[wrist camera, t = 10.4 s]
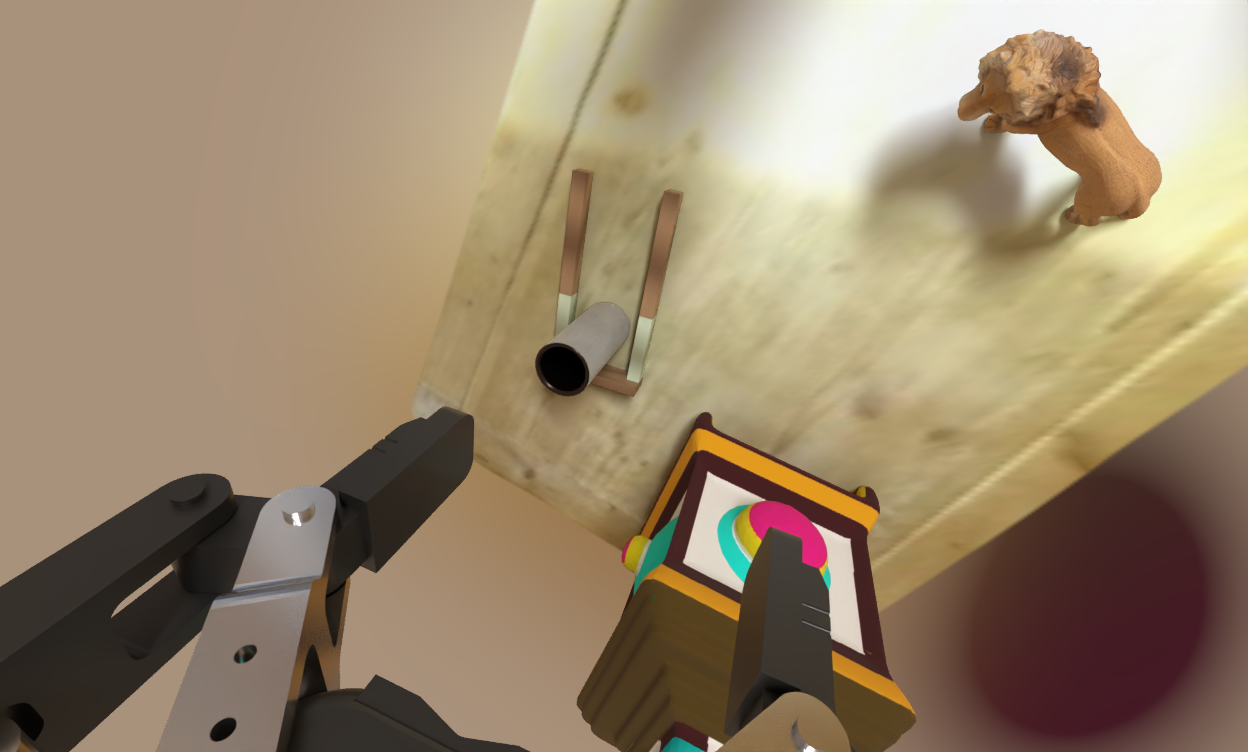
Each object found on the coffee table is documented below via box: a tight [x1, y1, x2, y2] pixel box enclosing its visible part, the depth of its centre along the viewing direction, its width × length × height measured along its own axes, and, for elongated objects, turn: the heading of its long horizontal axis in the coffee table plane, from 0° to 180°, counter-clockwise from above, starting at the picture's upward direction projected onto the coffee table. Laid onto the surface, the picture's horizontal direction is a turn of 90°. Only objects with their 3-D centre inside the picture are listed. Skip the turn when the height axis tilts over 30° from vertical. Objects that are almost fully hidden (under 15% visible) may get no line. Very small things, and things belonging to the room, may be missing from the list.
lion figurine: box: [958, 29, 1162, 226], centre depth 27 cm, size 15×5×9 cm, turn 57°
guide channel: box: [555, 169, 683, 397], centre depth 43 cm, size 18×9×2 cm, turn 170°
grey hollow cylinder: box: [535, 302, 630, 396], centre depth 41 cm, size 4×4×10 cm
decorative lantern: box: [577, 412, 916, 752], centre depth 37 cm, size 20×20×30 cm
